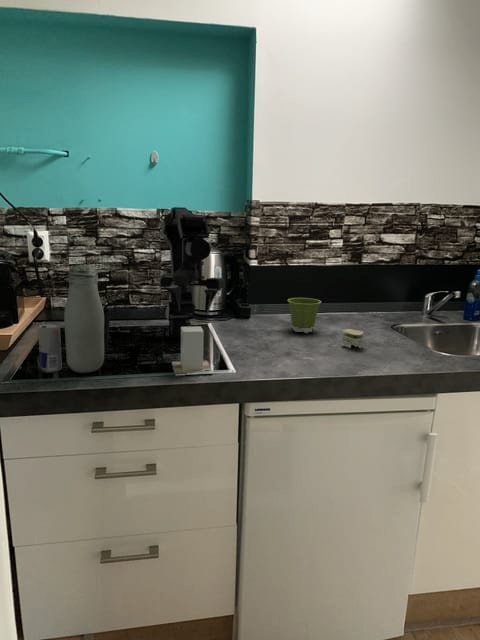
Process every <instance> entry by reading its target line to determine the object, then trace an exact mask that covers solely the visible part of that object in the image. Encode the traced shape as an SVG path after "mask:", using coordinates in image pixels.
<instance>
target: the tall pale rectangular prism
mask: <svg viewBox="0 0 480 640" xmlns="http://www.w3.org/2000/svg"><path fill="white" fill-rule="evenodd" d="M204 333H205V332H204V329H203V327H202V326H200V325H199V326H191V327H181V339H180V361H181V366H182V369H183V370H203V361H204V336H205V335H204Z"/></svg>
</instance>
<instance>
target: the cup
mask: <svg viewBox="0 0 480 640" xmlns="http://www.w3.org/2000/svg"><path fill="white" fill-rule="evenodd" d="M103 311H104V353H106V352H108V351H109V350H108V349H109V338H110V336H109V335H110V323H111V322H110V321H111V310H109V309H107V308H103Z"/></svg>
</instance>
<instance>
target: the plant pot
mask: <svg viewBox="0 0 480 640" xmlns="http://www.w3.org/2000/svg"><path fill="white" fill-rule="evenodd" d="M287 302H288V305H289V310H290V317H291V326H292V325H293V326H294V327H298V328H311V327H314V328H315V323H316V318H317V314H318V311H319V309H320V304H322V301H321V300H320V299H316V298H310V297H309V298H308V297H291V298H288V299H287Z"/></svg>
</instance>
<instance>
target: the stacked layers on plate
mask: <svg viewBox="0 0 480 640" xmlns="http://www.w3.org/2000/svg"><path fill="white" fill-rule="evenodd" d="M341 331H342V332H343V333H342V334H341V336H342V339H341V340H343V341H347V342H351V344H354V345H355V344H356V345H359V343H360V342H363V338H364V335H363V334H364V331H362V330H357V329H351V328H347V329H344V330H343V329H342V330H341ZM344 332H345V333H344Z"/></svg>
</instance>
